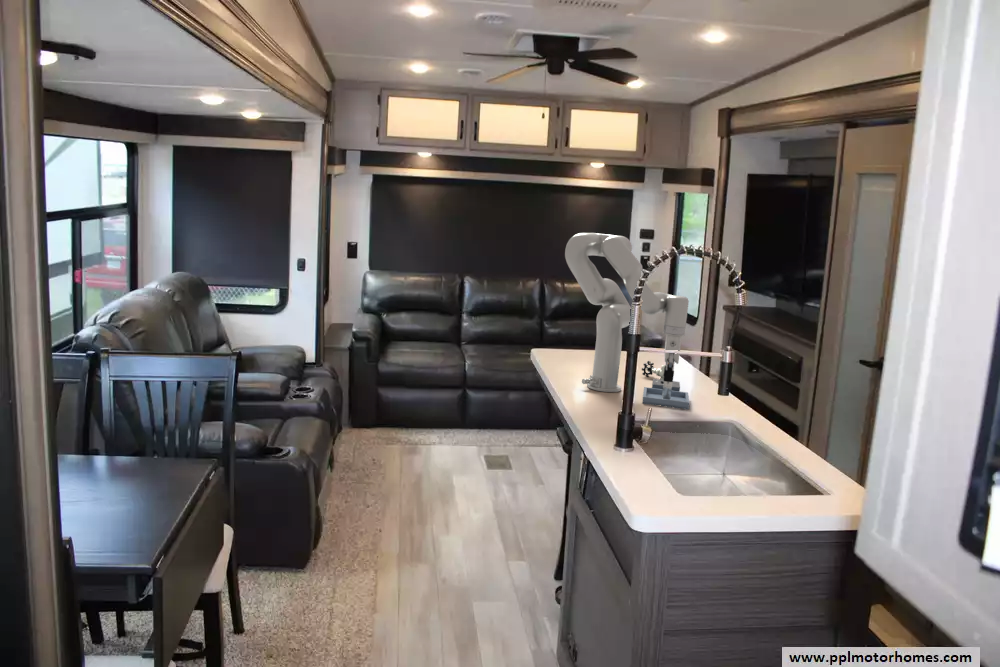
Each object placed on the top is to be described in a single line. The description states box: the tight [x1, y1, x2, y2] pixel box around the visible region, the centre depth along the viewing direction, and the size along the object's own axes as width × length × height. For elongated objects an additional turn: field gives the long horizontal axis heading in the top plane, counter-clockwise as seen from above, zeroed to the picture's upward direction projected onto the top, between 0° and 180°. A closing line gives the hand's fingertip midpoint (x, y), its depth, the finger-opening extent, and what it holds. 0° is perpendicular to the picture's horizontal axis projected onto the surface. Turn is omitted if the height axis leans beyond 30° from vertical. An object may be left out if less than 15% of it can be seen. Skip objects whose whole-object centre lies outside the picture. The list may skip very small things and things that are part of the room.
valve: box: [641, 360, 666, 380], centre depth 336 cm, size 7×7×12 cm
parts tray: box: [641, 386, 690, 410], centre depth 301 cm, size 16×16×2 cm
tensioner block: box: [651, 378, 681, 392], centre depth 315 cm, size 10×10×4 cm
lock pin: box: [662, 381, 672, 400], centre depth 300 cm, size 3×3×11 cm
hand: (668, 378), depth 300 cm, fingers open, 7 cm apart
